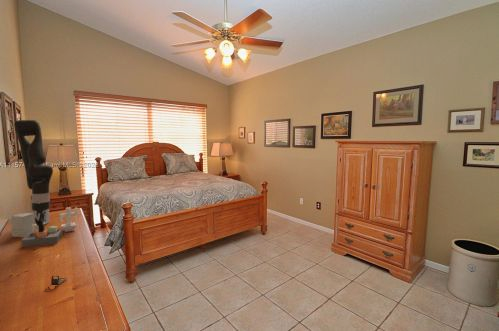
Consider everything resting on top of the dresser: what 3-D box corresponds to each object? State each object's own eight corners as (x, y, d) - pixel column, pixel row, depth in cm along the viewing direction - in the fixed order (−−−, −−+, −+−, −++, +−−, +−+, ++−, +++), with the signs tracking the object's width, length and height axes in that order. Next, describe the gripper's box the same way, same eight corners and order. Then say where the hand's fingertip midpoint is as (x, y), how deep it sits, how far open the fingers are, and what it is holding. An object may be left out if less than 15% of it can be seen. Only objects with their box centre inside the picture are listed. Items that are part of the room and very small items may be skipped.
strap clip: (60, 279, 100) (60, 269, 100) (67, 280, 100) (67, 270, 100) (42, 291, 91) (42, 281, 91) (50, 292, 91) (50, 281, 91)
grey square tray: (30, 238, 139) (30, 231, 139) (62, 234, 147) (62, 228, 146) (21, 247, 127) (21, 240, 127) (57, 243, 134) (57, 236, 134)
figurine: (58, 230, 154) (58, 207, 153) (76, 227, 160) (76, 205, 159) (60, 233, 149) (60, 209, 148) (78, 230, 155) (78, 207, 154)
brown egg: (38, 240, 135) (37, 230, 134) (48, 239, 137) (47, 229, 137) (35, 243, 131) (35, 233, 131) (46, 242, 133) (45, 232, 133)
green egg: (48, 236, 142) (48, 226, 142) (58, 235, 144) (57, 225, 144) (46, 238, 138) (46, 228, 138) (56, 237, 140) (56, 227, 140)
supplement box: (35, 233, 147) (34, 213, 146) (22, 237, 140) (22, 216, 139) (24, 232, 148) (24, 212, 147) (11, 236, 141) (10, 215, 140)
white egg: (33, 234, 138) (33, 223, 138) (43, 233, 141) (42, 223, 140) (30, 236, 135) (30, 226, 134) (40, 235, 137) (40, 225, 136)
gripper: (35, 199, 136) (36, 228, 137) (28, 204, 125) (28, 236, 126) (52, 198, 140) (52, 227, 141) (46, 203, 128) (47, 234, 129)
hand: (41, 231), depth 133 cm, fingers closed
